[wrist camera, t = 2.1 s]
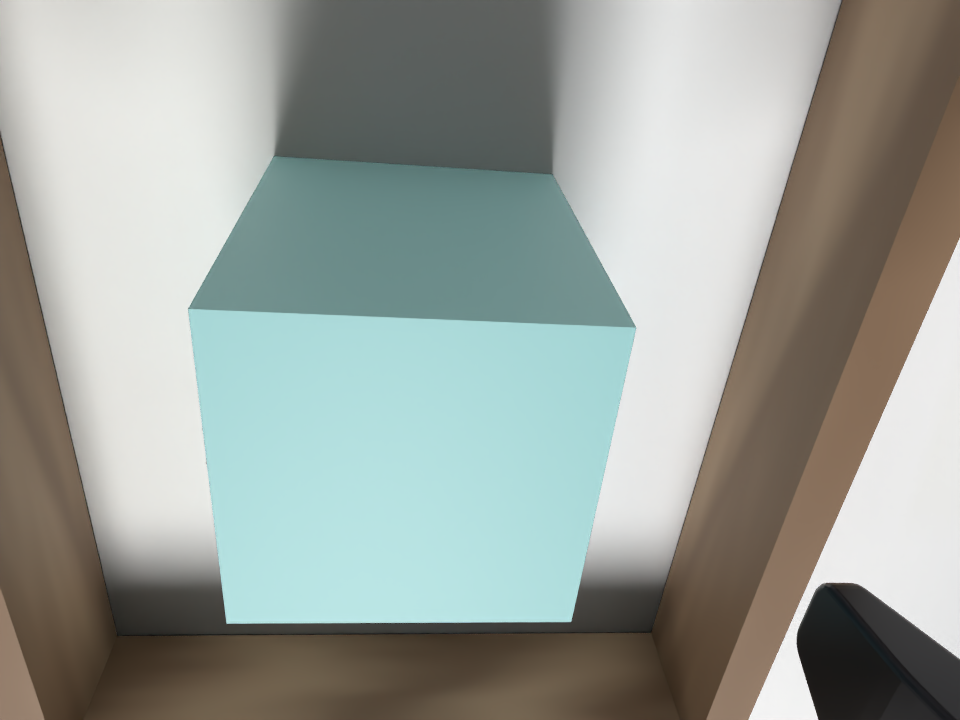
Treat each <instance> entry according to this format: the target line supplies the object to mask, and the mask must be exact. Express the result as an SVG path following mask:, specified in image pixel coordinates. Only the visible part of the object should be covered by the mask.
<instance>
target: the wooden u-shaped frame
mask: <svg viewBox="0 0 960 720" xmlns="http://www.w3.org/2000/svg"><path fill="white" fill-rule="evenodd" d="M959 238H960V0H843V1H842V4H841V7H840V11H839V14H838V17H837V21H836V24H835V27H834V31H833V34H832V37H831V40H830V44H829V47H828V50H827V54H826V57H825V60H824V64H823V67H822V70H821V73H820V77H819V80H818V83H817V87H816V90H815V93H814V97H813V100H812V103H811V106H810V110H809V113H808V116H807V120H806V123H805V126H804V130H803V133H802V136H801V139H800V143H799V146H798V149H797V153H796V156H795V159H794V163H793V166H792V169H791V172H790V176H789V179H788V182H787V186H786V189H785V192H784V196H783V199H782V202H781V206H780V209H779V212H778V215H777V219H776V222H775V225H774V229H773V232H772V235H771V239H770V242H769V245H768V248H767V252H766V255H765V258H764V262H763V265H762V268H761V272H760V275H759V278H758V281H757V285H756V288H755V291H754V295H753V298H752V301H751V305H750V308H749V311H748V314H747V318H746V321H745V324H744V328H743V331H742V334H741V338H740V341H739V344H738V347H737V351H736V354H735V357H734V361H733V364H732V367H731V371H730V374H729V377H728V380H727V384H726V387H725V390H724V394H723V397H722V400H721V404H720V407H719V410H718V413H717V417H716V420H715V423H714V427H713V430H712V433H711V437H710V440H709V443H708V447H707V450H706V453H705V456H704V460H703V463H702V466H701V470H700V473H699V476H698V480H697V483H696V486H695V489H694V493H693V496H692V499H691V503H690V506H689V509H688V513H687V516H686V519H685V522H684V526H683V529H682V532H681V536H680V539H679V542H678V546H677V549H676V552H675V555H674V559H673V562H672V565H671V569H670V572H669V575H668V579H667V582H666V585H665V588H664V592H663V595H662V598H661V602H660V605H659V608H658V612H657V615H656V618H655V621H654V625H653V628H652V631H651V633H525V634H363V635H200V636H117V633H116V628H115V624H114V620H113V616H112V611H111V607H110V603H109V599H108V594H107V590H106V586H105V581H104V577H103V573H102V569H101V564H100V560H99V556H98V552H97V547H96V543H95V539H94V535H93V530H92V526H91V522H90V518H89V513H88V509H87V505H86V500H85V496H84V492H83V488H82V483H81V479H80V475H79V471H78V466H77V462H76V458H75V454H74V449H73V445H72V441H71V436H70V432H69V428H68V424H67V419H66V415H65V411H64V407H63V402H62V398H61V394H60V390H59V385H58V381H57V377H56V372H55V368H54V364H53V360H52V355H51V351H50V347H49V343H48V338H47V334H46V330H45V326H44V321H43V317H42V313H41V308H40V304H39V300H38V296H37V291H36V287H35V283H34V279H33V274H32V270H31V266H30V262H29V257H28V253H27V249H26V244H25V240H24V236H23V232H22V227H21V223H20V219H19V215H18V210H17V206H16V202H15V198H14V193H13V189H12V185H11V181H10V176H9V172H8V168H7V163H6V159H5V155H4V151H3V146H2V142H1V138H0V720H748V719H749V717H750V714H751V712H752V710H753V707H754V705H755V703H756V701H757V698H758V696H759V694H760V691H761V689H762V687H763V685H764V682H765V680H766V678H767V676H768V673H769V671H770V669H771V666H772V664H773V662H774V660H775V657H776V655H777V653H778V650H779V648H780V646H781V644H782V641H783V639H784V637H785V634H786V632H787V630H788V628H789V625H790V623H791V621H792V619H793V616H794V614H795V612H796V609H797V607H798V605H799V603H800V600H801V598H802V596H803V593H804V591H805V589H806V587H807V584H808V582H809V580H810V578H811V575H812V573H813V571H814V568H815V566H816V564H817V562H818V559H819V557H820V555H821V552H822V550H823V548H824V546H825V543H826V541H827V539H828V536H829V534H830V532H831V530H832V527H833V525H834V523H835V521H836V518H837V516H838V514H839V511H840V509H841V507H842V505H843V502H844V500H845V498H846V495H847V493H848V491H849V489H850V486H851V484H852V482H853V480H854V477H855V475H856V473H857V470H858V468H859V466H860V464H861V461H862V459H863V457H864V454H865V452H866V450H867V448H868V445H869V443H870V441H871V439H872V436H873V434H874V432H875V429H876V427H877V425H878V423H879V420H880V418H881V416H882V413H883V411H884V409H885V407H886V404H887V402H888V400H889V397H890V395H891V393H892V391H893V388H894V386H895V384H896V382H897V379H898V377H899V375H900V372H901V370H902V368H903V366H904V363H905V361H906V359H907V356H908V354H909V352H910V350H911V347H912V345H913V343H914V341H915V338H916V336H917V334H918V331H919V329H920V327H921V325H922V322H923V320H924V318H925V315H926V313H927V311H928V309H929V306H930V304H931V302H932V299H933V297H934V295H935V293H936V290H937V288H938V286H939V284H940V281H941V279H942V277H943V274H944V272H945V270H946V268H947V265H948V263H949V261H950V258H951V256H952V254H953V252H954V249H955V247H956V245H957V243H958V240H959Z"/></svg>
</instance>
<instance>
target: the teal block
mask: <svg viewBox="0 0 960 720" xmlns="http://www.w3.org/2000/svg"><path fill="white" fill-rule="evenodd" d="M188 312H189V320H190V328H191V336H192V345H193V353H194V361H195V369H196V378H197V386H198V394H199V402H200V410H201V419H202V427H203V435H204V443H205V451H206V460H207V468H208V476H209V484H210V493H211V501H212V509H213V517H214V525H215V534H216V542H217V550H218V558H219V566H220V575H221V583H222V591H223V599H224V607H225V616H226V624H251V623H471V622H571V621H572V617H573V612H574V608H575V603H576V599H577V594H578V589H579V585H580V580H581V576H582V571H583V567H584V562H585V558H586V553H587V549H588V544H589V540H590V535H591V531H592V526H593V521H594V517H595V512H596V508H597V503H598V499H599V494H600V490H601V485H602V481H603V476H604V472H605V467H606V462H607V458H608V453H609V449H610V444H611V440H612V435H613V431H614V426H615V422H616V417H617V413H618V408H619V404H620V399H621V394H622V390H623V385H624V381H625V376H626V372H627V367H628V363H629V358H630V354H631V349H632V345H633V340H634V335H635V331H636V326H635V324H634V323H633V321H632V319H631V317H630V315H629V314H628V312H627V310H626V308H625V306H624V304H623V303H622V301H621V299H620V297H619V295H618V293H617V292H616V290H615V288H614V286H613V284H612V282H611V281H610V279H609V277H608V275H607V273H606V271H605V270H604V268H603V266H602V264H601V262H600V260H599V259H598V257H597V255H596V253H595V251H594V249H593V248H592V246H591V244H590V242H589V240H588V238H587V237H586V235H585V233H584V231H583V229H582V227H581V226H580V224H579V222H578V220H577V218H576V216H575V215H574V213H573V211H572V209H571V207H570V205H569V204H568V202H567V200H566V198H565V196H564V194H563V193H562V191H561V189H560V187H559V185H558V183H557V182H556V180H555V178H554V176H553V174H541V173H526V172H510V171H495V170H480V169H464V168H449V167H433V166H418V165H403V164H387V163H372V162H357V161H341V160H326V159H311V158H295V157H280V156H274V157H273V159H272V161H271V163H270V164H269V166H268V168H267V170H266V171H265V173H264V175H263V177H262V179H261V180H260V182H259V184H258V186H257V187H256V189H255V191H254V193H253V195H252V196H251V198H250V200H249V202H248V203H247V205H246V207H245V209H244V211H243V212H242V214H241V216H240V218H239V219H238V221H237V223H236V225H235V227H234V228H233V230H232V232H231V234H230V235H229V237H228V239H227V241H226V243H225V244H224V246H223V248H222V250H221V251H220V253H219V255H218V257H217V259H216V260H215V262H214V264H213V266H212V267H211V269H210V271H209V273H208V275H207V276H206V278H205V280H204V282H203V283H202V285H201V287H200V289H199V291H198V292H197V294H196V296H195V298H194V299H193V301H192V303H191V305H190V307H189V308H188Z"/></svg>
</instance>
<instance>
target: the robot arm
mask: <svg viewBox="0 0 960 720" xmlns="http://www.w3.org/2000/svg"><path fill="white" fill-rule="evenodd" d="M797 649H798V654H799V657H800V661H801V664H802V667H803V670H804V674H805V677H806V680H807V684H808V687H809V690H810V693H811V697H812V700H813V703H814V706H815V710H816V713H817V716H818V720H960V659H959V658H957V657H956V656H955V655H953V654H952V653H951V652H949V651H948V650H947V649H945V648H944V647H943V646H941V645H940V644H939V643H937V642H936V641H935V640H933V639H932V638H931V637H929V636H928V635H927V634H925V633H924V632H923V631H921V630H920V629H919V628H917V627H916V626H915V625H913V624H912V623H911V622H909V621H908V620H907V619H905V618H904V617H903V616H901V615H900V614H899V613H897V612H896V611H895V610H893V609H892V608H891V607H889V606H888V605H886V604H885V603H884V602H882V601H881V600H880V599H878V598H877V597H876V596H874V595H873V594H872V593H870V592H869V591H868V590H866V589H865V588H863V587H862V586H860V585H858V584H854V583H824V584H822V585H820V586H819V587H818V588H817V589H816V591H815V593H814V595H813V597H812V599H811V602H810V604H809V606H808V608H807V610H806V613H805V615H804V617H803V619H802V622H801V624H800V626H799V629H798V633H797Z"/></svg>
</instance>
